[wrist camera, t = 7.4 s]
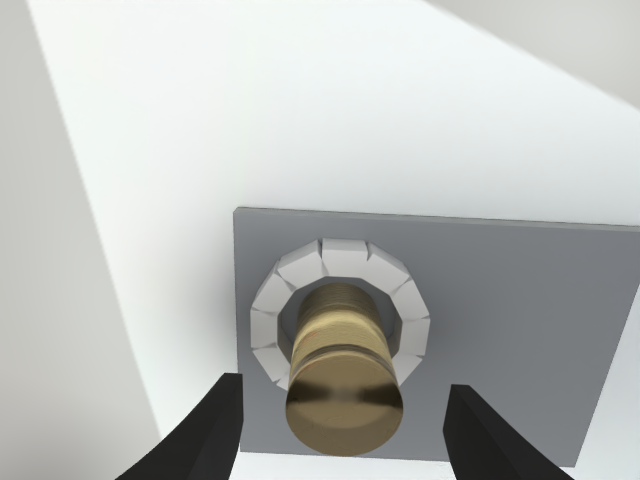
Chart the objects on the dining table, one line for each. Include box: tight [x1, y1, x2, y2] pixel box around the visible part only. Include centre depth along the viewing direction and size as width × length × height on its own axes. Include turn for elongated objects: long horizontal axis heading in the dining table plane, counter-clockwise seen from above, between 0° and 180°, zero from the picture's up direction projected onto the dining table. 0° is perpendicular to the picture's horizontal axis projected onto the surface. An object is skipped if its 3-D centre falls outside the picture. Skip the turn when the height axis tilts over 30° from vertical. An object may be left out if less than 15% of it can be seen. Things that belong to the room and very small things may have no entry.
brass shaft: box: [285, 282, 403, 457], centre depth 15 cm, size 4×4×6 cm
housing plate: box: [233, 207, 640, 467], centre depth 19 cm, size 19×14×2 cm
